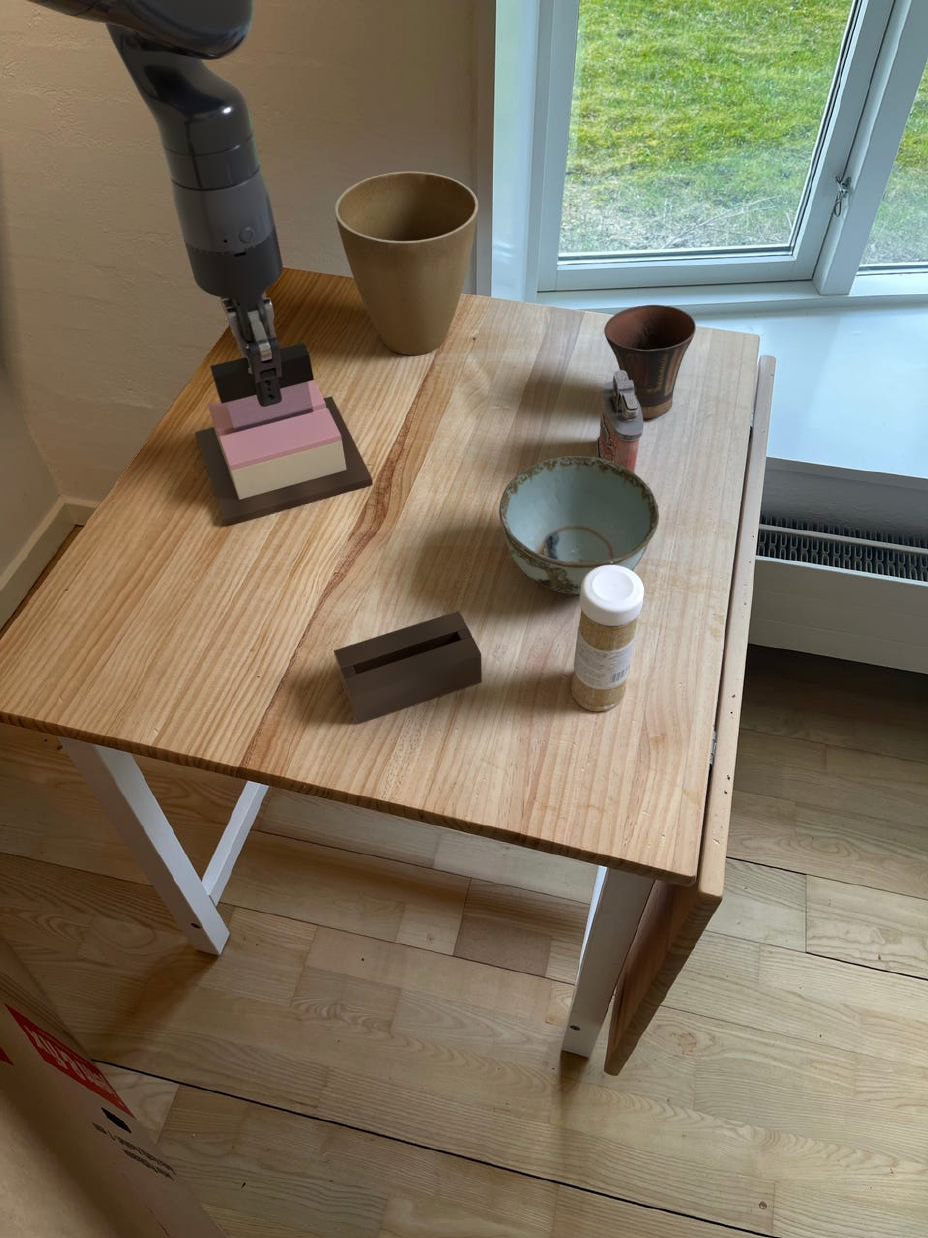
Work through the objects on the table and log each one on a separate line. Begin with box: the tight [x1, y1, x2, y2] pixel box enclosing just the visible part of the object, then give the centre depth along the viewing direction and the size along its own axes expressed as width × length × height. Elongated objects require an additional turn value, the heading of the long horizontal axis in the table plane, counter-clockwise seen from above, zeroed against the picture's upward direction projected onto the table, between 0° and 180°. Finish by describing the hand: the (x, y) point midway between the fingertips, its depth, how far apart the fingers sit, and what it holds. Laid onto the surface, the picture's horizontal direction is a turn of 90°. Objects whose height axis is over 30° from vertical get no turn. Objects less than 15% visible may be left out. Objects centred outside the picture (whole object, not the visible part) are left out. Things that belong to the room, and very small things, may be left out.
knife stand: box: [333, 610, 483, 725], centre depth 78 cm, size 11×5×4 cm, turn 112°
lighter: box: [595, 369, 644, 474], centre depth 92 cm, size 8×3×10 cm, turn 6°
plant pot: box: [334, 171, 479, 356], centre depth 104 cm, size 15×15×16 cm
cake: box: [219, 408, 346, 500], centre depth 93 cm, size 11×4×4 cm, turn 112°
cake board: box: [194, 395, 373, 527], centre depth 97 cm, size 15×14×1 cm
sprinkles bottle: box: [570, 565, 645, 712], centre depth 74 cm, size 5×5×13 cm
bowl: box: [498, 455, 660, 595], centre depth 84 cm, size 14×13×8 cm
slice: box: [207, 379, 326, 464], centre depth 97 cm, size 11×4×4 cm, turn 112°
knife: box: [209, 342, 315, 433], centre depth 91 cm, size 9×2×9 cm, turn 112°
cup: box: [603, 304, 697, 419], centre depth 98 cm, size 9×9×10 cm
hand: (267, 394), depth 91 cm, fingers closed on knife, 2 cm apart
